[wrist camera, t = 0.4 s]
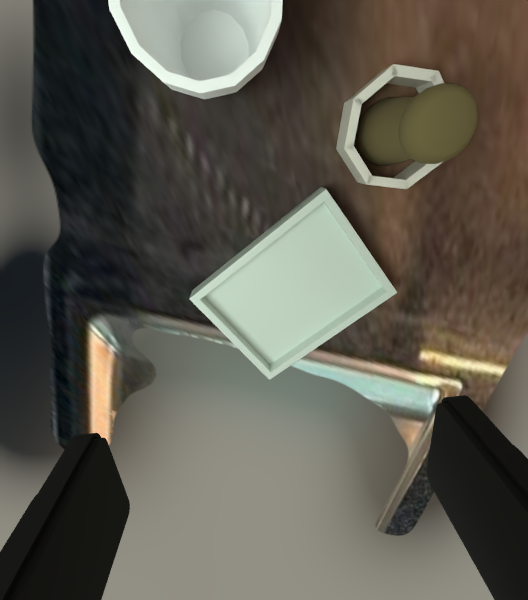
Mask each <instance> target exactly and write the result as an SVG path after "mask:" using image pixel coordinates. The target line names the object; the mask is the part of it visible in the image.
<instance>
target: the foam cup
mask: <svg viewBox="0 0 528 600" xmlns="http://www.w3.org/2000/svg"><path fill="white" fill-rule="evenodd" d="M108 1H109V9H110V11H111V13H112V15H113V17H114V19H115V21H116V23H117V25H118V27H119V29H120V31H121V33H122V35H123V37H124V39H125V41H126V43H127V45H128V47H129V49H130V51H131V53H132V54H133V55H134V56H135V57H136V58H137V59H138V60H139V61H141V62H142V63H143V64H144V65H145V66H146V67H147V68H148V69H149V70H150V71H152V72H153V73H154V74H155V75H156V76H157V77H158V78H159V79H160V80H162V81H163V82H164V83H165V84H166V85H167V86H168V87H170V88H171V89H172V90H175V91H178V92H182V93H185V94H188V95H192V96H195V97H198V98H202V99H208V98H213V97H218V96H223V95H227V94H232V93H235V92H237V91H238V90H239V89H241V88H242V87H243V86H244V85H245V84H246V83H247V82H249V81H250V80H251V79H252V78H253V77H254V76H255V75H256V74H258V73H259V72H260V71H261V70H262V69H263V67H264V64H265V62H266V60H267V57H268V55H269V53H270V51H271V48H272V46H273V44H274V41H275V39H276V37H277V34H278V32H279V28H280V24H281V20H282V3H283V0H108Z"/></svg>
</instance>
